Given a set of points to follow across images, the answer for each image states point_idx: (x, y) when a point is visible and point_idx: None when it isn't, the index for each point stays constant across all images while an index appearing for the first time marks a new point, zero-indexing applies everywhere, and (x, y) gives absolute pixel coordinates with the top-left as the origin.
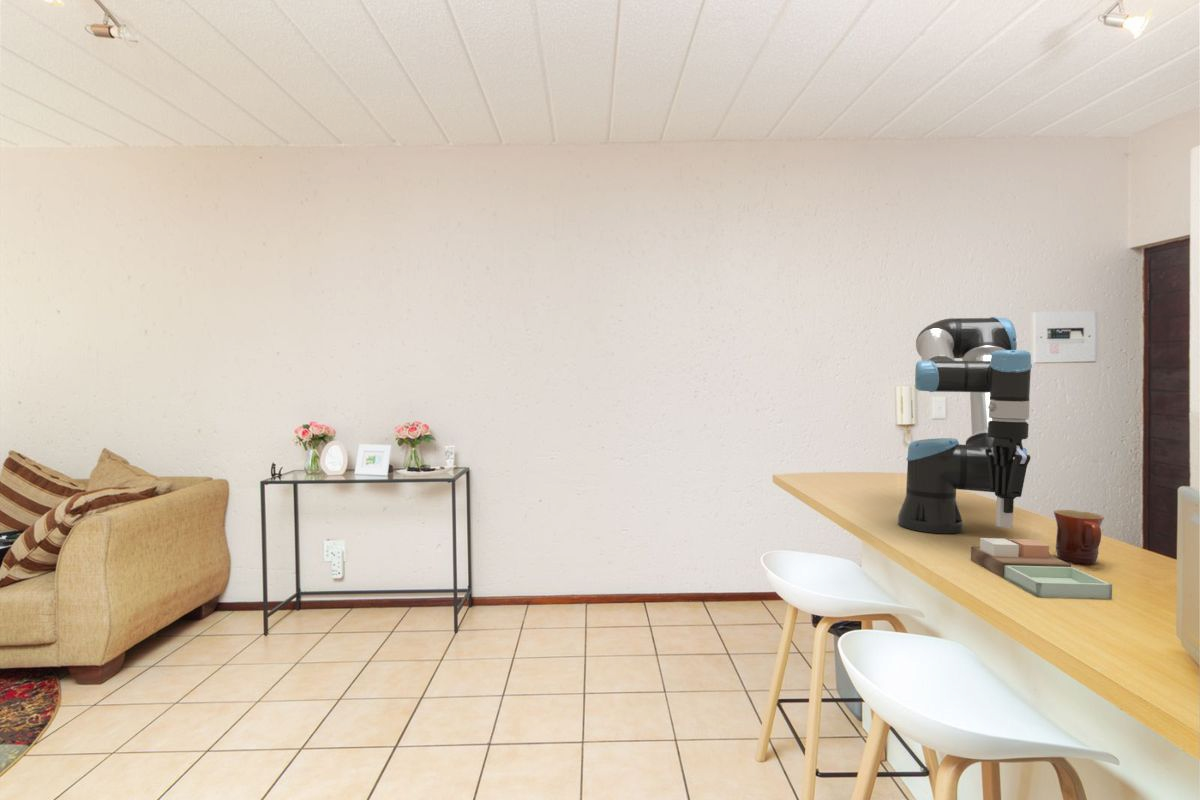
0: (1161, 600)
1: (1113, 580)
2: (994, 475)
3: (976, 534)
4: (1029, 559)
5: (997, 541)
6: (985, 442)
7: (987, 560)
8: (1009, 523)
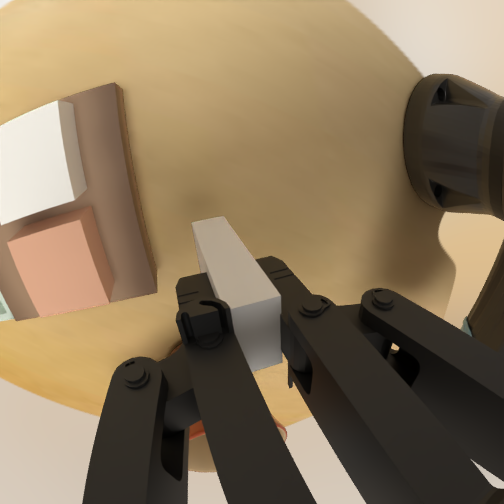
0: (2, 375)
1: (72, 368)
2: (456, 388)
3: (401, 221)
4: (8, 236)
5: (21, 158)
6: None
7: None
8: (201, 271)
